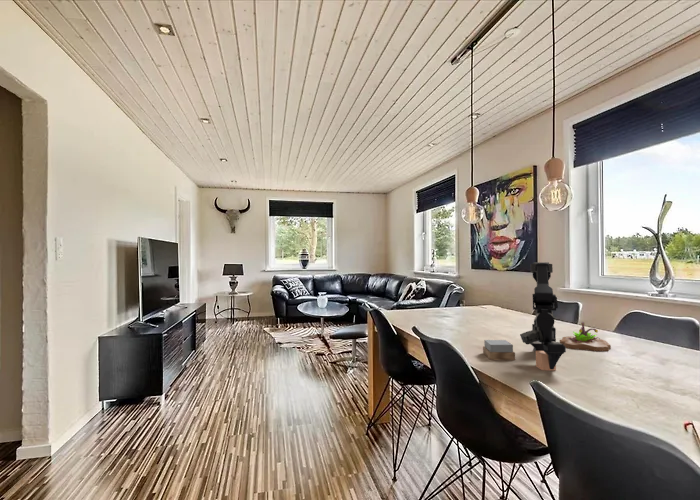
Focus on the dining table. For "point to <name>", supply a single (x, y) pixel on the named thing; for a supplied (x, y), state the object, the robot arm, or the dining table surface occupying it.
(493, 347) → the tower top
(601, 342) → the plant
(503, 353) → the tower base
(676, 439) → the dining table surface
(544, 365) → the terracotta block
